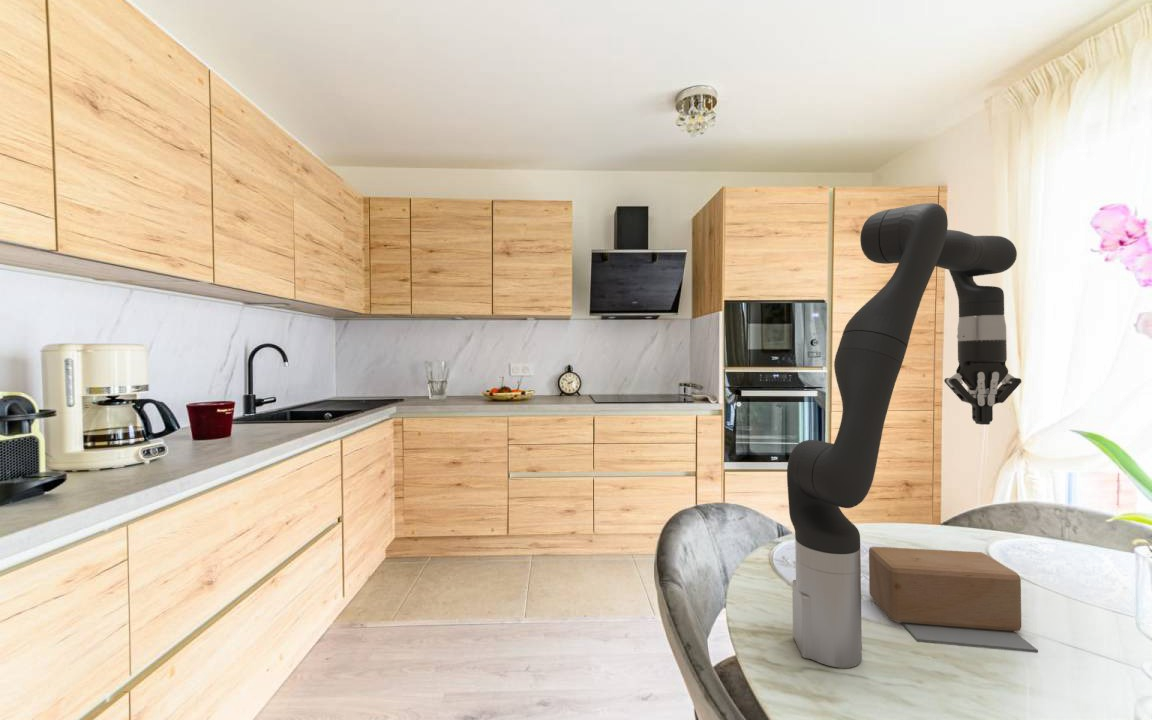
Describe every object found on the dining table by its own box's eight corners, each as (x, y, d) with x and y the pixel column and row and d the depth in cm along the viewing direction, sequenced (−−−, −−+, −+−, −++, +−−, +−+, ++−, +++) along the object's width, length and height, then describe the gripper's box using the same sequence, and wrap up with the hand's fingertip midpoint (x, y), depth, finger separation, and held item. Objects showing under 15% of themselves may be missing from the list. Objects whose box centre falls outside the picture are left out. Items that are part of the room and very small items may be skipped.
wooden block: (1023, 574, 78) (891, 566, 82) (1024, 634, 78) (892, 624, 82) (983, 550, 88) (866, 544, 91) (984, 603, 88) (867, 595, 91)
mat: (917, 641, 77) (916, 638, 77) (870, 588, 95) (870, 586, 95) (1037, 652, 74) (1037, 649, 74) (966, 595, 92) (966, 593, 92)
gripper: (955, 338, 93) (956, 426, 93) (1033, 337, 90) (1034, 427, 90) (934, 340, 100) (935, 421, 100) (1005, 339, 98) (1007, 422, 98)
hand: (982, 423), depth 95 cm, fingers closed
